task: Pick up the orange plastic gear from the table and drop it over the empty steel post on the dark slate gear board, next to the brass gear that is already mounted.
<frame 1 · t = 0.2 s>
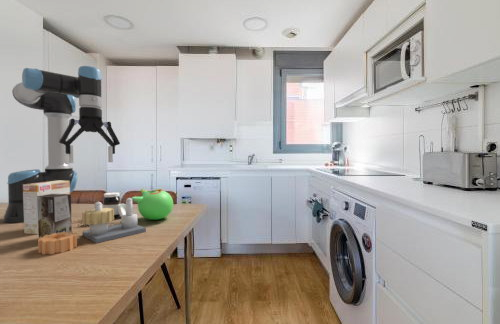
hand: (91, 162, 102), 28 cm above the table, tool pointing down, fingers open, 13 cm apart
coffeecake box: (48, 229, 109), on the table
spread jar: (116, 217, 129), on the table
coffee box: (55, 239, 96), on the table
gear board: (114, 233, 102), on the table
green teapot: (154, 219, 124), on the table
orange gear: (58, 248, 85), on the table
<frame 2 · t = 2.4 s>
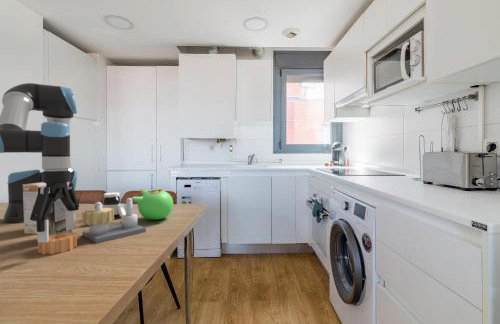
hand: (58, 235, 85), 4 cm above the table, tool pointing down, fingers open, 13 cm apart
nothing on the table moved.
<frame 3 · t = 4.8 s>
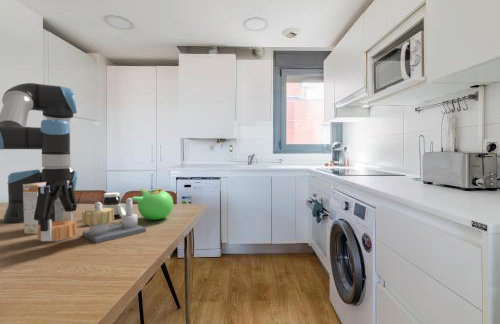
hand: (58, 235, 86), 4 cm above the table, tool pointing down, fingers closed on orange gear, 10 cm apart
orange gear: (57, 236, 86), point 4 cm above the table, touching gripper
everything else where it was.
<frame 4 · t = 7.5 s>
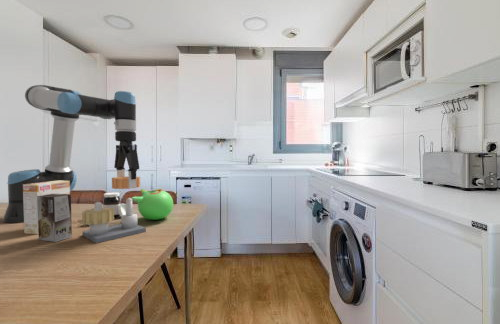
hand: (126, 186, 105), 18 cm above the table, tool pointing down, fingers closed on orange gear, 10 cm apart
orange gear: (126, 187, 105), point 18 cm above the table, touching gripper
everything else where it was.
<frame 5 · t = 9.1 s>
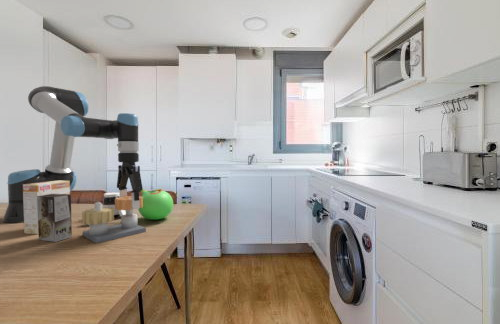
hand: (129, 207, 106), 9 cm above the table, tool pointing down, fingers closed on orange gear, 10 cm apart
orange gear: (129, 207, 106), point 9 cm above the table, touching gripper
everything else where it was.
when the fingers open (6 cm above the table, at t = 10.3 s): orange gear stays where it is, resting on gear board.
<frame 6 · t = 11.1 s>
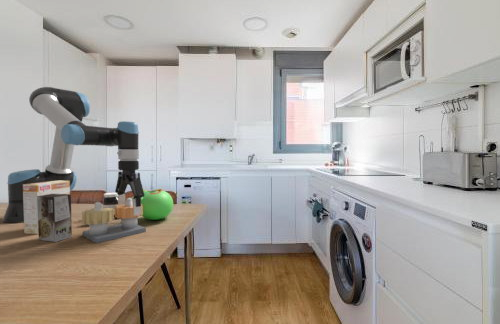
hand: (129, 212, 106), 7 cm above the table, tool pointing down, fingers open, 13 cm apart
orange gear: (129, 215, 106), point 6 cm above the table, touching gear board
everything else where it was.
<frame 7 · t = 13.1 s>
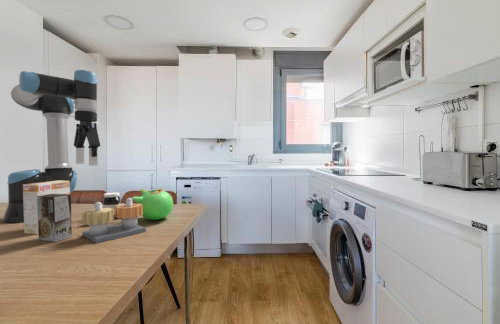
hand: (86, 164, 104), 27 cm above the table, tool pointing down, fingers open, 13 cm apart
nothing on the table moved.
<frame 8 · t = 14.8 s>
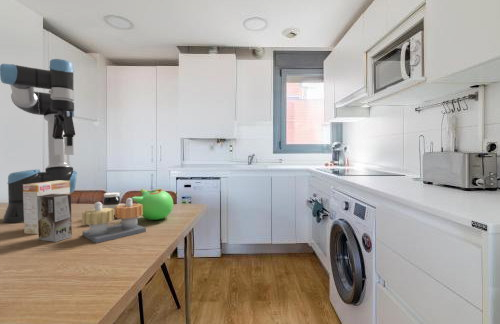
hand: (63, 154, 103), 31 cm above the table, tool pointing down, fingers open, 13 cm apart
nothing on the table moved.
at the end: orange gear 0.0 cm from the target spot on the gear board, point 6.0 cm above the gear board's base; orange gear tilted 0°; the gripper is holding nothing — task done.
